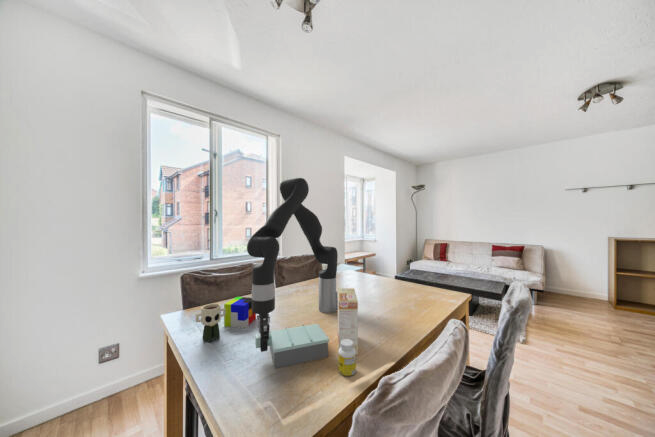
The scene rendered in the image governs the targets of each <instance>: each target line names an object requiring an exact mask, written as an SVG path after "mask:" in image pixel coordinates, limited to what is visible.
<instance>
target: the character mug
mask: <svg viewBox="0 0 655 437" xmlns="http://www.w3.org/2000/svg"><path fill="white" fill-rule="evenodd" d="M225 315H226V309H225V308H224V307H223V308H222V305H221V303H209V304H205V305H203V306H201V309H200V313H196V314H195V323H201V325H203V332H202V340H203V342H206V343H207V342H212V341H213V340H214V341H216V340H218V339H219V338H220V337H221V336H220V335H221V333H220V327H219V326H220V325H219V322H221V319H222V317H224V316H225ZM199 317H201V318H200V319H199Z"/></svg>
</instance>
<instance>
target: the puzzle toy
mask: <svg viewBox="0 0 655 437" xmlns="http://www.w3.org/2000/svg"><path fill="white" fill-rule="evenodd" d="M223 308H225V309H226V315H225V316H223V325H224V327H228V328H237V329H238V328H239V329H245V328H247V327H248V326H249V325H251V323H253V322H254V321H255V320H257V314H255V313H253V312H252V297H243V296H236V297H234V298H232V299H231V300H229V301H227V302H225V303H224V304H223Z"/></svg>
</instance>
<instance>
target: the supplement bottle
mask: <svg viewBox="0 0 655 437" xmlns="http://www.w3.org/2000/svg"><path fill="white" fill-rule="evenodd" d="M338 373H339V375H341V376H342V377H345V378H351V377H354V376H355V375H356V373H357V354H356V351H355V349H354V348H353V341H352V340H350V339H343V340H342V341H341V347H340V349H339V350H338Z"/></svg>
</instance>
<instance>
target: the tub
mask: <svg viewBox="0 0 655 437" xmlns="http://www.w3.org/2000/svg"><path fill="white" fill-rule="evenodd" d="M269 351H270V355H271V359H272V364H273V369H274V370H275V369H280V368H284V367H289V366H294V365H297V364H303V363H307V362H312V361H316V360H322V359H325V358H328V357H329V342H327V343H322V344H317V345H311V346H306V347H301V348H296V349H291V350H286V351H281V352H276V353H273V349H272V346H269Z"/></svg>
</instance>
